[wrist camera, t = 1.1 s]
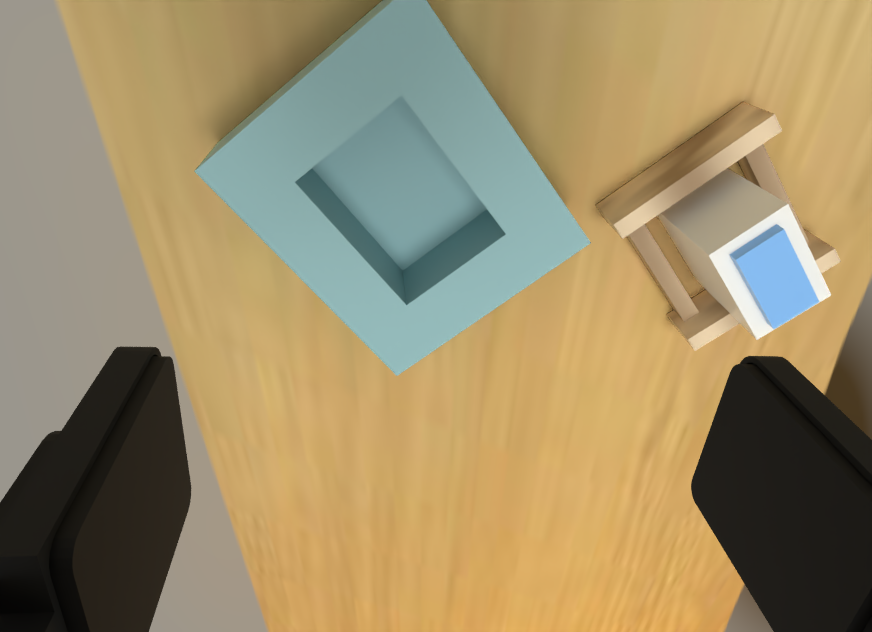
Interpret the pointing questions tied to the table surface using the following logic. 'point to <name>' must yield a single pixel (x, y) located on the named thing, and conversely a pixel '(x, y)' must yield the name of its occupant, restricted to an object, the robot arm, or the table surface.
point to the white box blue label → (746, 251)
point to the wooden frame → (679, 177)
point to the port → (395, 186)
